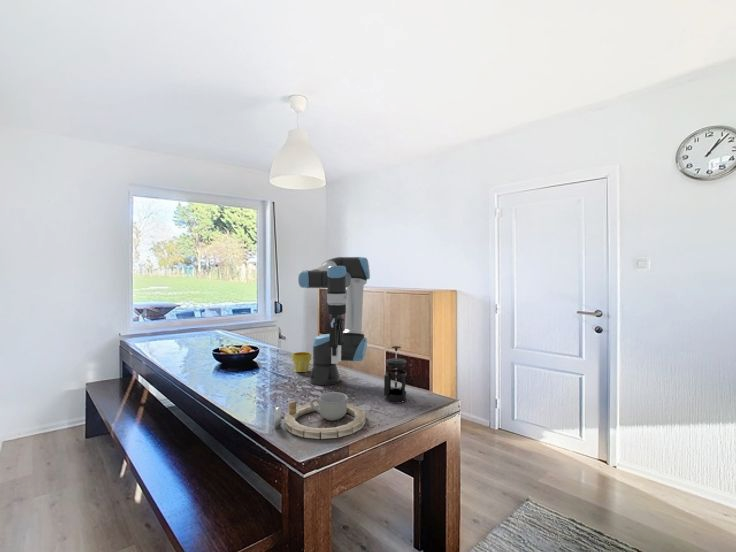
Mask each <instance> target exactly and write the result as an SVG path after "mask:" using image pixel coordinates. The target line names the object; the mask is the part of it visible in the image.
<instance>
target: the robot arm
mask: <svg viewBox="0 0 736 552" xmlns="http://www.w3.org/2000/svg"><path fill="white" fill-rule="evenodd" d="M370 271H371V270H370V265H369V260H368V258H367V257H364V256H363V257H362V256H350V257H349V256H343V257H342V256H338V257H333V258H330V259H327V260H324V261H322V263H321V264H320V266H319V265H318V266H317V267H315V268H314V269H313V268H312V269H311V270H307V269H306V270H300V272H299V274H298V285H299V287H300V288H304V289H327V291H326V292H327V294H326V295H327V296H326V300H327V301H326V303H327V305H326V306H327V307H326V309H327V310H326V312H327V313H326V314H327V315H331V318H330V321H329V322H328V327H329V333H325V334H320V335H317V336H315V337H314V338H313V343H312V356H313V357H312V369H311V372H310V375H309V383H310V384H312V385H316V386H332V385H337V384H339V383H340V380H341V375H340V373H339V370H338V364H339V362H353V363H355V362H362V361H364V359H365V357H366V352H367V348H368V338H367V337H365V334H364V333H363V330H362V327H363V325H362V324H363V308H364V307H363V304H364V286H365V285H366V284H367V282H368V280H370V279H371V273H370ZM342 315H345V317H344V318H342V317H343V316H342Z"/></svg>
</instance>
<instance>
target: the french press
mask: <svg viewBox="0 0 736 552" xmlns="http://www.w3.org/2000/svg"><path fill="white" fill-rule="evenodd" d="M391 349H394V351H395V358H394V357H393V358H387V359H385V362H386V367H388V368H392V369H388V370H386V371H385V374H384V379H383V382H384V384H383V386H384V387H383V391H384V392H383V394H384V395H383V396H385V397H384V400H385V401H386V400H387V401H389V402H388V403H390V402H402V401H406V400H407V391H406V386H407V385H406V377H407V370H403V369H402V368H405V367H406V363H407V362H408V361H407V360H406V359H404V358H397V356H398V355H397V354H398V349H402V347H401V346H398V345H393V346H391ZM392 373H400V374H392ZM393 378H394V379H400V382H399V381H392V379H393ZM387 401H386V402H387ZM406 402H407V401H406Z"/></svg>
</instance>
